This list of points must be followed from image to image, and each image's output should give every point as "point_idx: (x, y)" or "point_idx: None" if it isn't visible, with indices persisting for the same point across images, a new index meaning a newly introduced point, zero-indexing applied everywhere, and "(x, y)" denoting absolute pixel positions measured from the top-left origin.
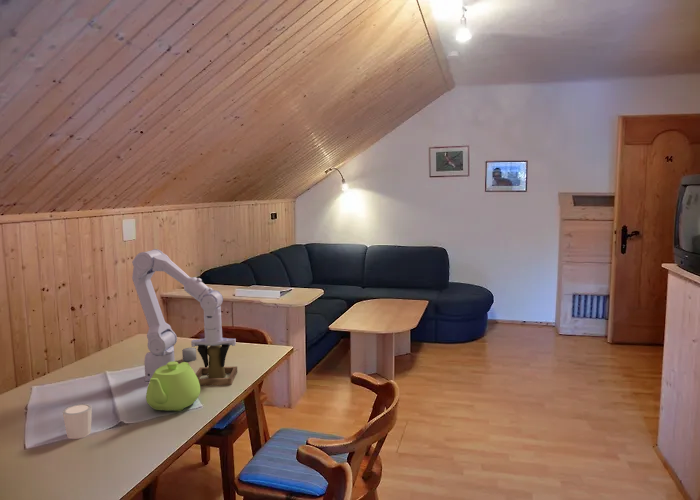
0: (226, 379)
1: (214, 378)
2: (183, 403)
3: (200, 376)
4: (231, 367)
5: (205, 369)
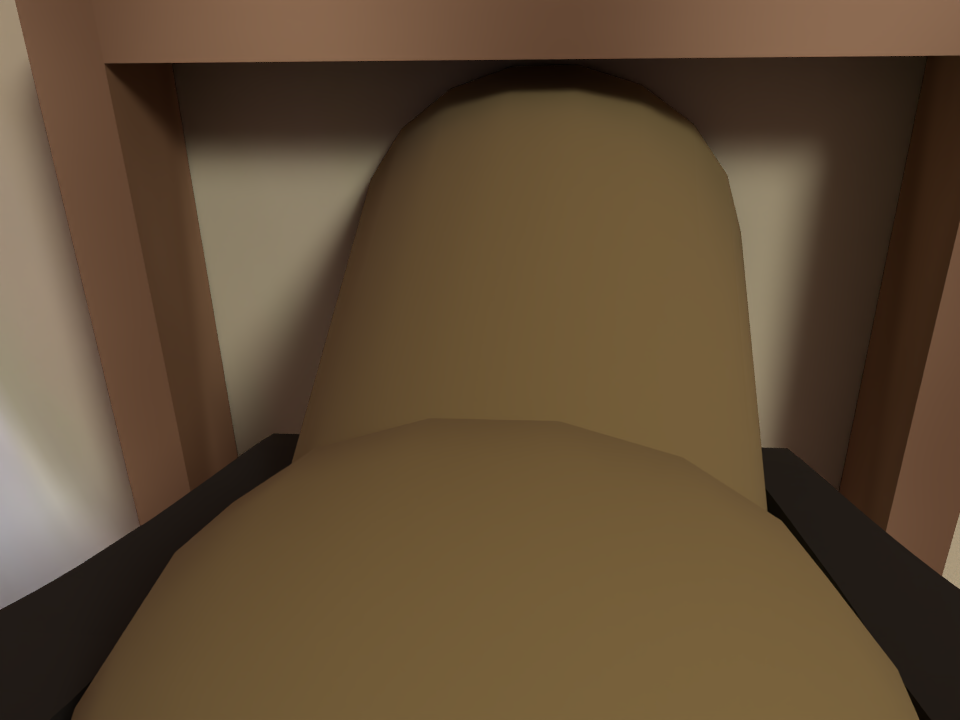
0: None
1: None
2: None
3: (197, 235)
4: (926, 46)
5: (202, 60)
